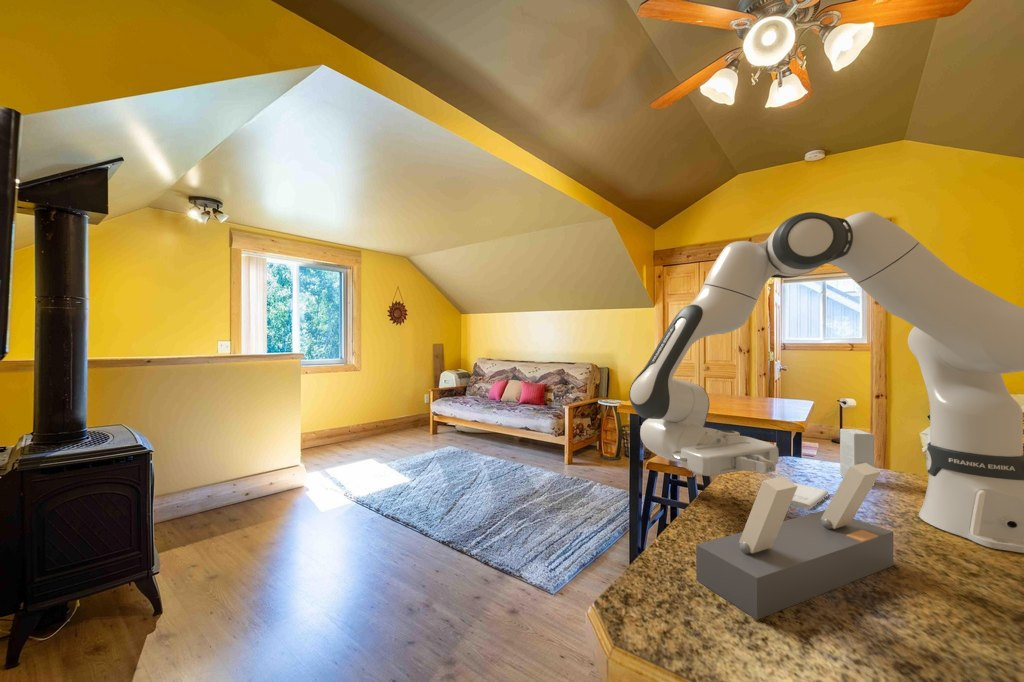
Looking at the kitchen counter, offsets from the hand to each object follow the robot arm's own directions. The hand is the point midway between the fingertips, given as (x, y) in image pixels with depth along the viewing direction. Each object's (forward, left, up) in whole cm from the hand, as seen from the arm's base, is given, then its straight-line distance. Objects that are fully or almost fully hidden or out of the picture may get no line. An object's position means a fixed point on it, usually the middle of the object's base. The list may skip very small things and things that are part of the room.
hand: (770, 468), depth 72 cm
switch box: (-4, +13, -11) cm, 17 cm away
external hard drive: (-3, -23, -12) cm, 26 cm away
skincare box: (-14, -43, -11) cm, 47 cm away
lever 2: (-9, +5, -5) cm, 11 cm away
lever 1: (0, +20, -5) cm, 21 cm away
